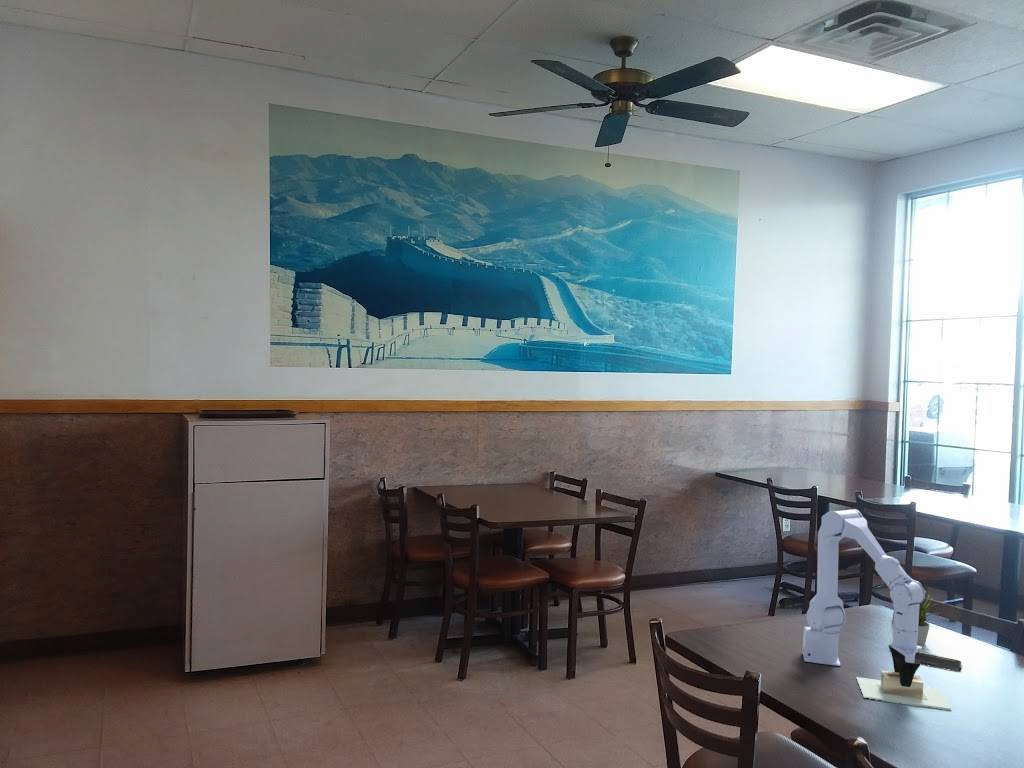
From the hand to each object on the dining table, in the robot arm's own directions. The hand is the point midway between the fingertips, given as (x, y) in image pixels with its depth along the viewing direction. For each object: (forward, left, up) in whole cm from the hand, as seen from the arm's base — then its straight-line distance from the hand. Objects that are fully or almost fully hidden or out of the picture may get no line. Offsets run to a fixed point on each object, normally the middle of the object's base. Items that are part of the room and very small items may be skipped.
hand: (902, 680), depth 207 cm
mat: (0, 0, -4) cm, 4 cm away
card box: (0, 0, -3) cm, 3 cm away
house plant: (+12, +45, -4) cm, 47 cm away
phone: (+13, +28, -4) cm, 31 cm away
